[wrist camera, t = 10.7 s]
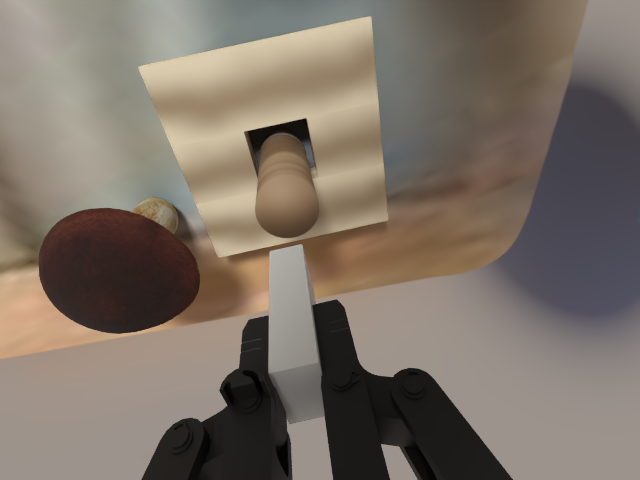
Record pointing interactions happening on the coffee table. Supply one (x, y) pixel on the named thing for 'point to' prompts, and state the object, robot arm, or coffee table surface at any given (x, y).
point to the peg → (285, 187)
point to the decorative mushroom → (119, 267)
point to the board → (271, 109)
